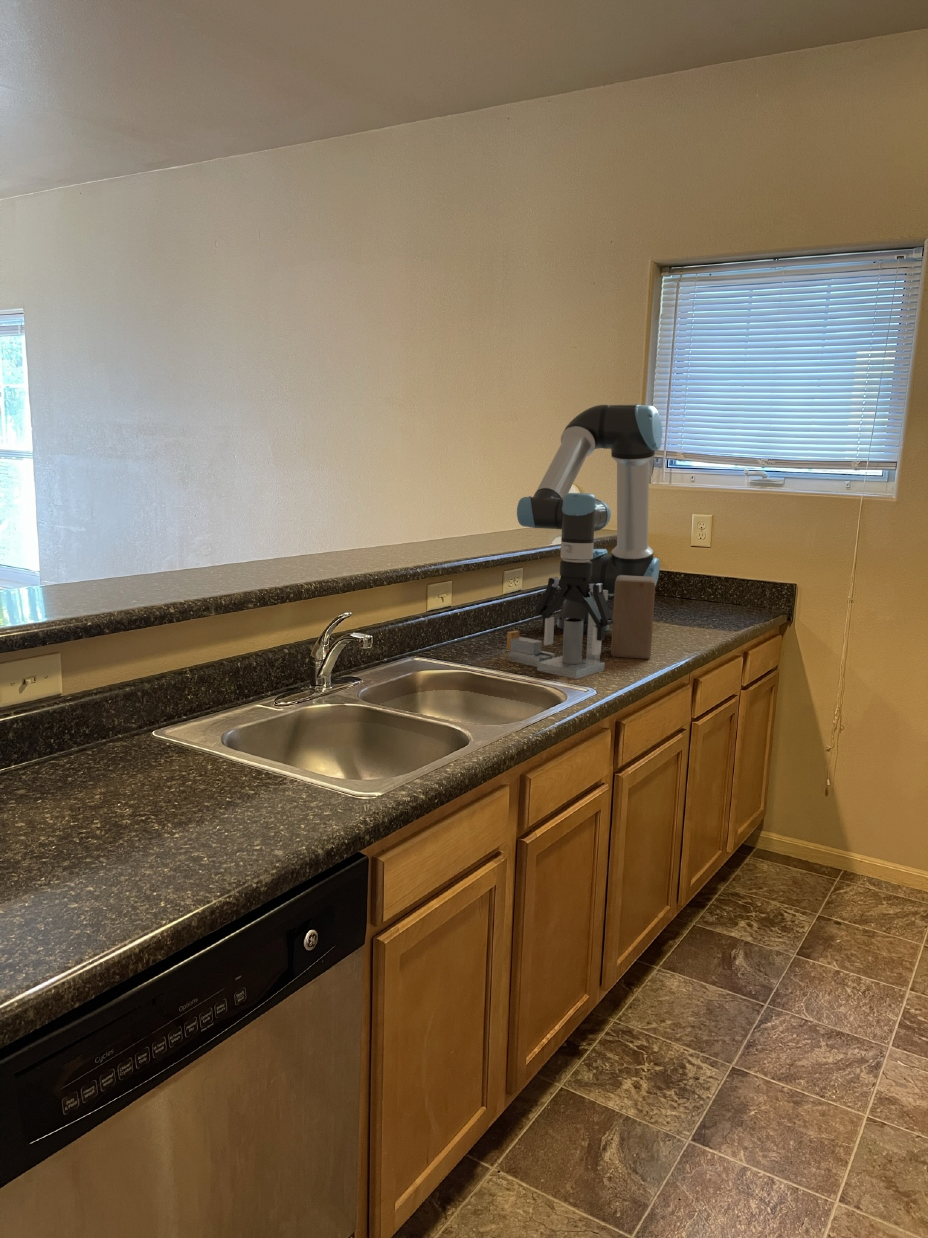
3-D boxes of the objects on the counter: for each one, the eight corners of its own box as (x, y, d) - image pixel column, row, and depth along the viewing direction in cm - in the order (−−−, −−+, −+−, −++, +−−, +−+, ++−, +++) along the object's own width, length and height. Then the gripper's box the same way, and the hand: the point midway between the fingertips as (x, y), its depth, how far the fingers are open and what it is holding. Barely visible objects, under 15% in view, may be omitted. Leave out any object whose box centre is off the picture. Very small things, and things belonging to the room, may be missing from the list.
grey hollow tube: (565, 659, 221) (567, 617, 219) (583, 661, 219) (585, 619, 217) (559, 663, 216) (561, 620, 214) (578, 665, 215) (580, 622, 213)
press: (544, 652, 237) (547, 581, 233) (616, 666, 223) (620, 592, 220) (502, 662, 224) (505, 588, 220) (576, 679, 210) (580, 600, 206)
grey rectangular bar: (515, 647, 230) (515, 630, 229) (541, 653, 225) (542, 635, 224) (506, 649, 228) (507, 632, 227) (533, 655, 223) (533, 637, 222)
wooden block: (650, 660, 231) (655, 581, 227) (610, 657, 233) (614, 579, 229) (650, 651, 241) (655, 576, 237) (612, 649, 242) (616, 574, 239)
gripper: (523, 555, 218) (520, 642, 222) (614, 567, 202) (608, 660, 206) (542, 553, 224) (538, 638, 228) (631, 564, 208) (625, 655, 212)
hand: (571, 649), depth 217 cm, fingers open, 13 cm apart
